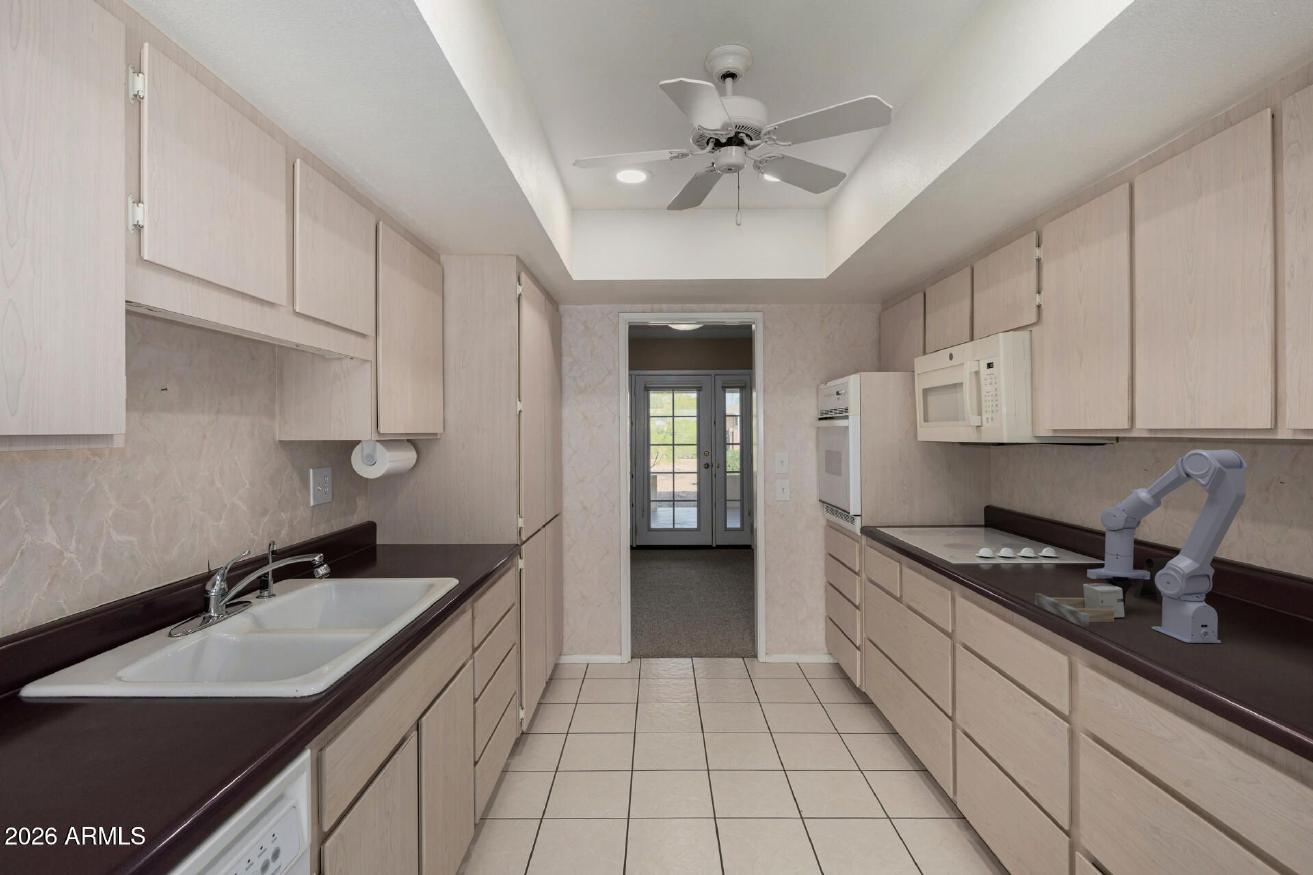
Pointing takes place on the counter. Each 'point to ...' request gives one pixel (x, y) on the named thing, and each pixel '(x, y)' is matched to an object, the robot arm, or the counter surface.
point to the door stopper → (1151, 580)
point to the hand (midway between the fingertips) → (1117, 605)
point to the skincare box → (1104, 597)
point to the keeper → (1074, 610)
